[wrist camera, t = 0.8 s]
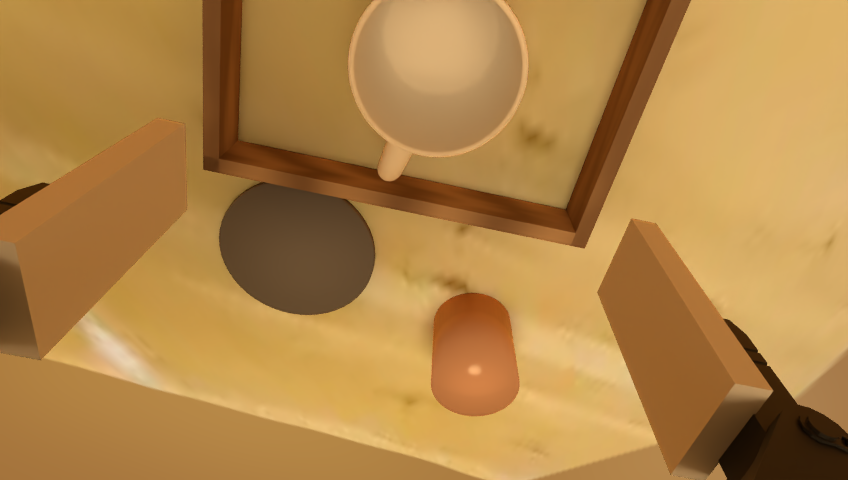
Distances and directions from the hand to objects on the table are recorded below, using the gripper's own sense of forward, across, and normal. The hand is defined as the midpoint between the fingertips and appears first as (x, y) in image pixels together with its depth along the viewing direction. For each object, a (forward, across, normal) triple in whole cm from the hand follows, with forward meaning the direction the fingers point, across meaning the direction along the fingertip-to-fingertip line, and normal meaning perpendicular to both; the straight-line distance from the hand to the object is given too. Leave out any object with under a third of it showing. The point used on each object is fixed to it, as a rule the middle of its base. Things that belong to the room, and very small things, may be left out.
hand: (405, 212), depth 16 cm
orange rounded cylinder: (+21, +8, -20) cm, 30 cm away
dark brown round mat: (+21, -7, -16) cm, 27 cm away
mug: (+21, 0, 0) cm, 21 cm away
